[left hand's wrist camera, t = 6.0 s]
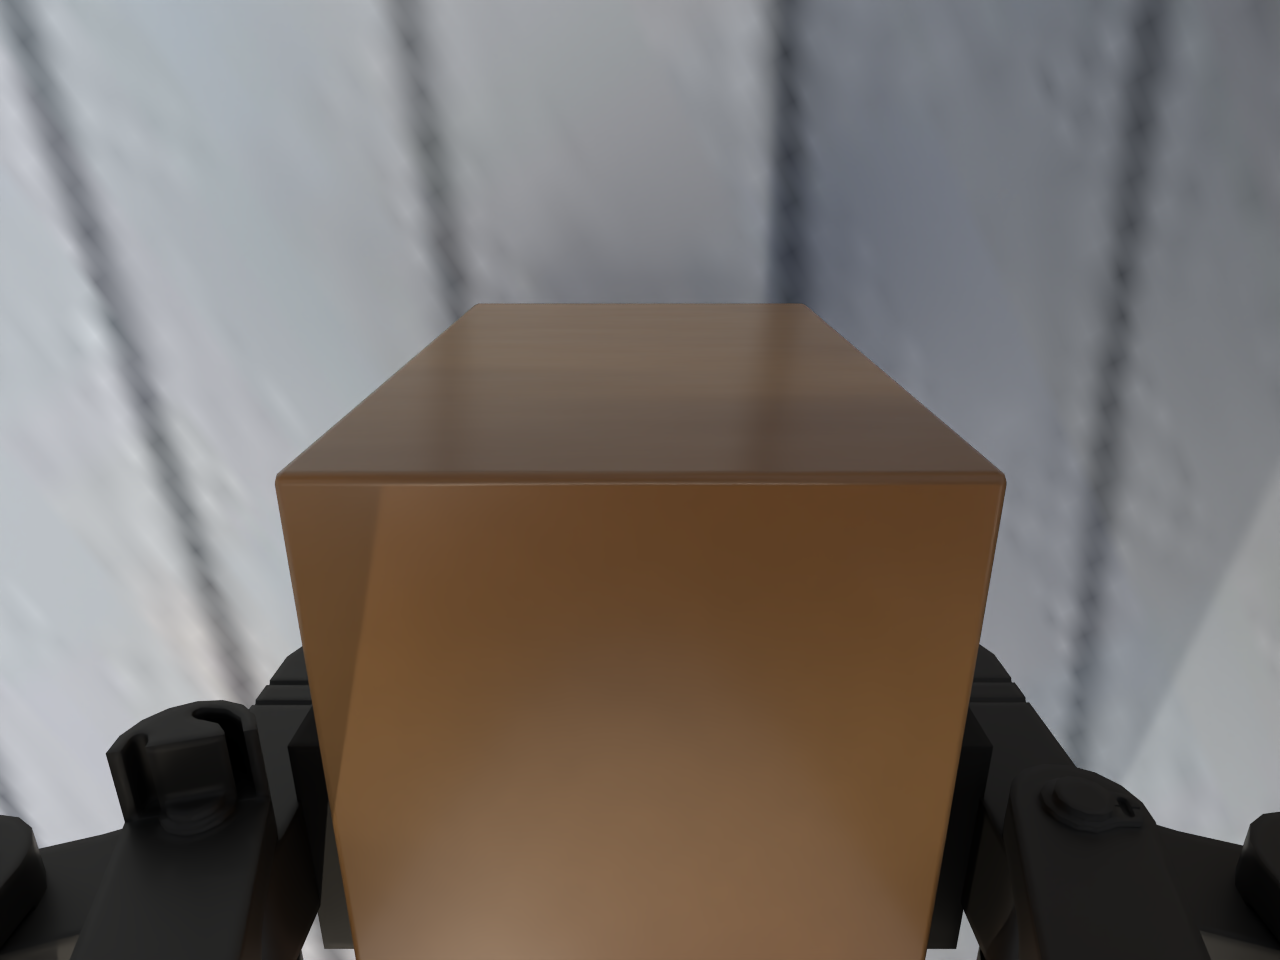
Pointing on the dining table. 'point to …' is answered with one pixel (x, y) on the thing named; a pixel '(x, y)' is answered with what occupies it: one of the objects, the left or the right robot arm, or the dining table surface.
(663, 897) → the bar
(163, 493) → the dining table surface
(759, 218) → the dining table surface
